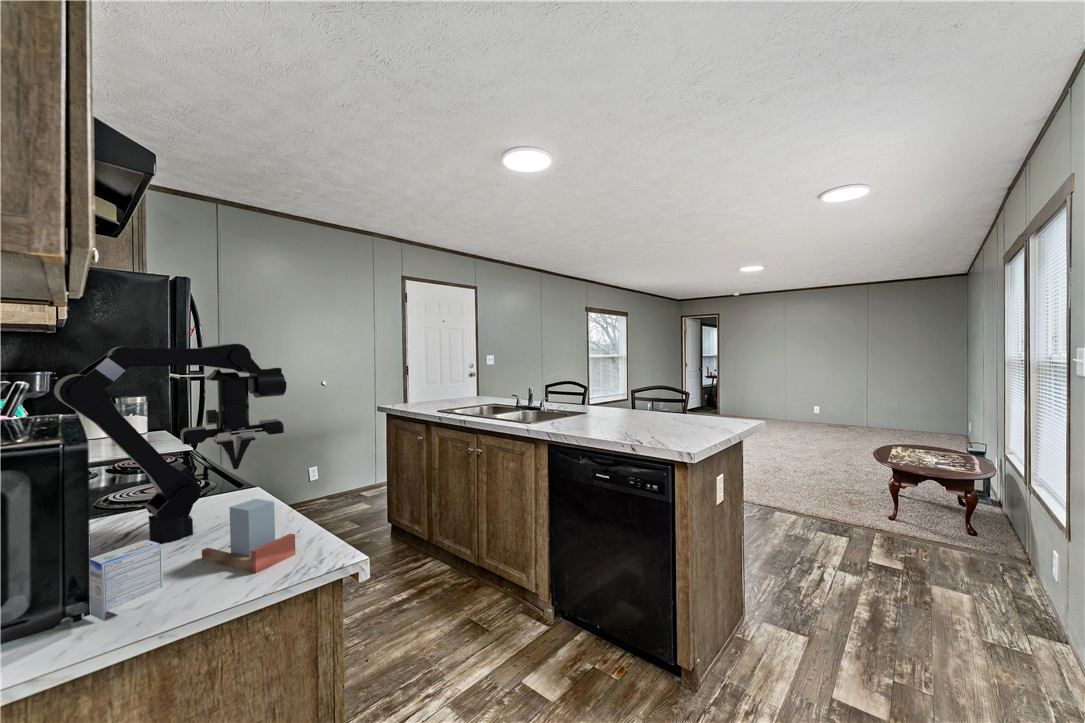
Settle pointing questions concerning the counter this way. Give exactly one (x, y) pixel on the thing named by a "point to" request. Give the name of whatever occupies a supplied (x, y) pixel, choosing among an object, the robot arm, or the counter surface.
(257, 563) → the key housing
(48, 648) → the counter surface
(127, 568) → the medicine box
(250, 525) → the slate key
